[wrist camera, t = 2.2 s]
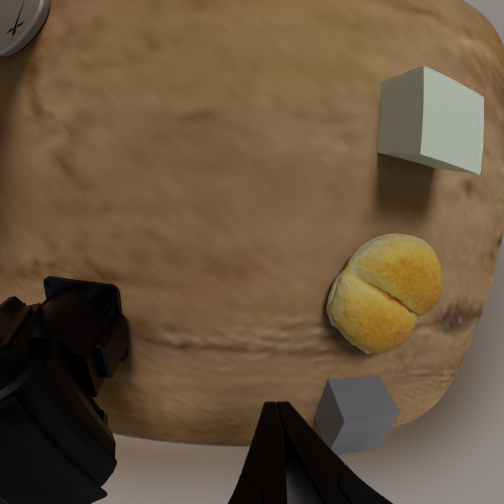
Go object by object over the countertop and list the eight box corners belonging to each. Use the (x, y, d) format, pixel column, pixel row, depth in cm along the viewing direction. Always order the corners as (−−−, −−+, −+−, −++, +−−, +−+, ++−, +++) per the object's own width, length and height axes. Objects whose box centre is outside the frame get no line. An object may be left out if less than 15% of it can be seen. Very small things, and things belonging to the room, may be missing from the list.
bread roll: (442, 266, 20) (472, 286, 16) (374, 349, 22) (394, 379, 18) (382, 202, 18) (415, 215, 14) (302, 305, 20) (317, 337, 16)
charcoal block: (314, 415, 24) (326, 456, 19) (327, 378, 22) (344, 421, 18) (361, 410, 24) (377, 447, 20) (378, 374, 23) (400, 412, 18)
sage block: (376, 152, 17) (420, 154, 12) (381, 82, 15) (423, 65, 11) (433, 167, 17) (480, 175, 13) (437, 103, 16) (483, 97, 11)
